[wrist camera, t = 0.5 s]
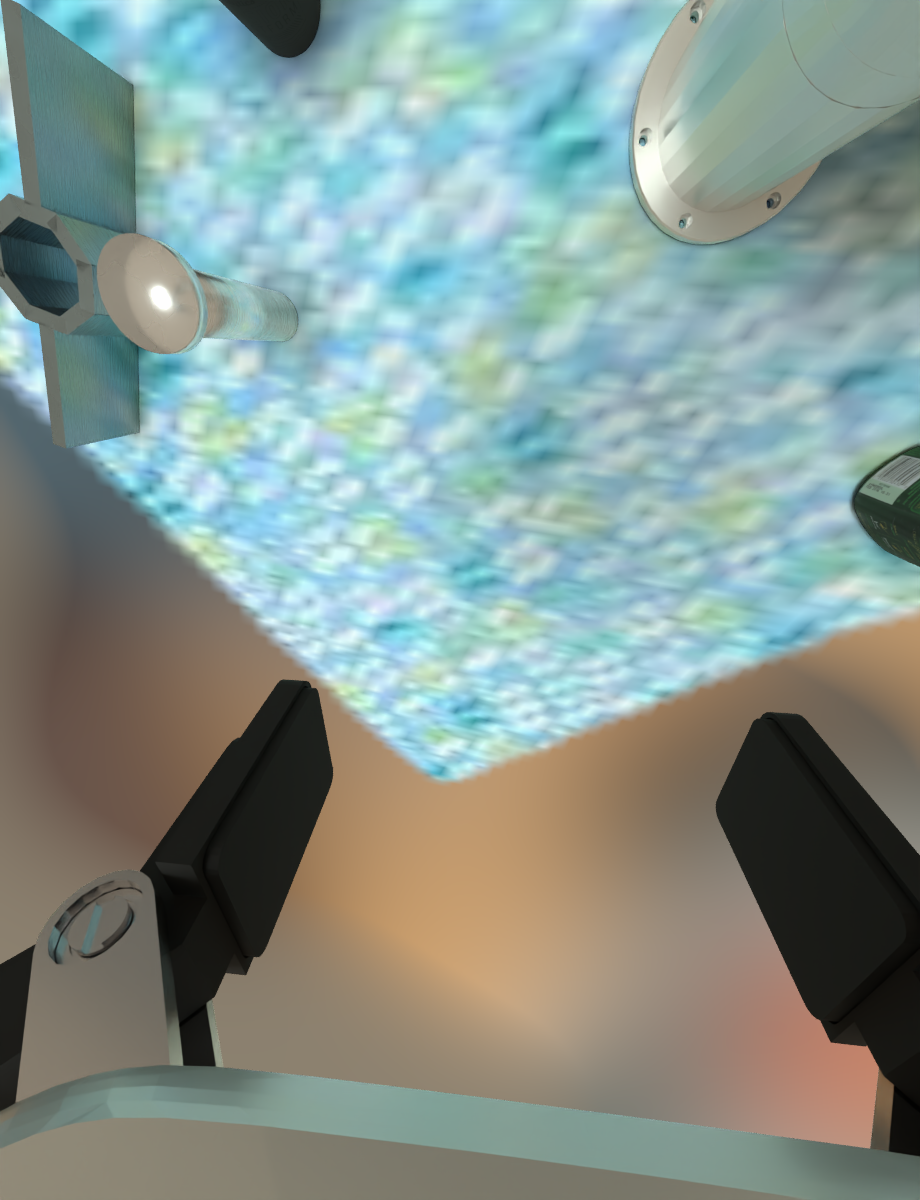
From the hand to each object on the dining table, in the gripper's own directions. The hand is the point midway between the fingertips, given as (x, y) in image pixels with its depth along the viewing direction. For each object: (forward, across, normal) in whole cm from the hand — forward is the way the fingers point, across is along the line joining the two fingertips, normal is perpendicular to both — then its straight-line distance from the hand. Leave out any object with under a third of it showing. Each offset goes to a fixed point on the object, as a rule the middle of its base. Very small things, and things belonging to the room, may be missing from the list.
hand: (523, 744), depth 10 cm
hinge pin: (+34, +20, -10) cm, 41 cm away
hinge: (+34, +32, -12) cm, 48 cm away
